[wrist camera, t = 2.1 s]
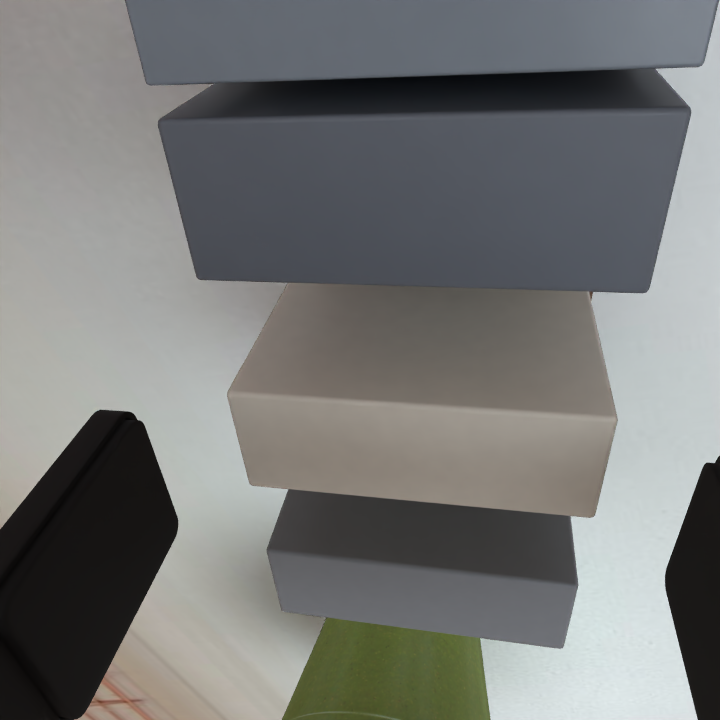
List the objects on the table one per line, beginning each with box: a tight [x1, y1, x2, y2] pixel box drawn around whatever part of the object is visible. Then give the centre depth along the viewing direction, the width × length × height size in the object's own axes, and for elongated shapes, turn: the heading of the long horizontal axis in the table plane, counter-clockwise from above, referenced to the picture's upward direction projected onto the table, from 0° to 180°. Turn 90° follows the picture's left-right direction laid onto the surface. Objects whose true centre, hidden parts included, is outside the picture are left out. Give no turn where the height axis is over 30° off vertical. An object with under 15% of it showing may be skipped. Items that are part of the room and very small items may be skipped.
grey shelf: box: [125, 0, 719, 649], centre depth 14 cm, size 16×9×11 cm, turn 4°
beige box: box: [227, 283, 618, 518], centre depth 15 cm, size 2×6×10 cm, turn 94°
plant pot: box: [282, 618, 490, 720], centre depth 28 cm, size 12×12×11 cm
